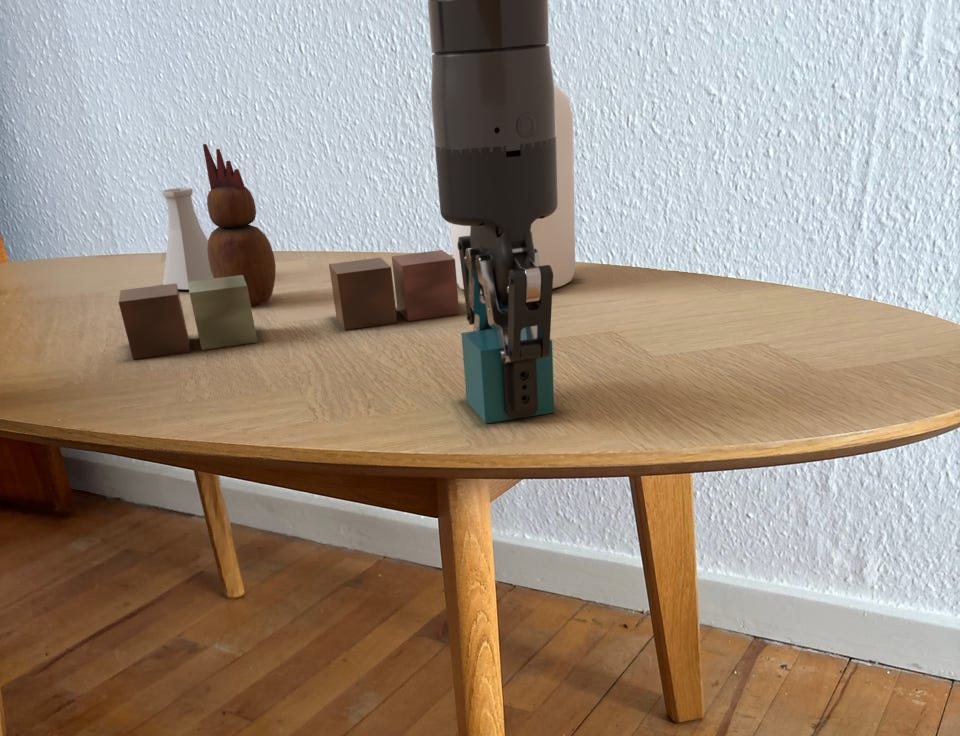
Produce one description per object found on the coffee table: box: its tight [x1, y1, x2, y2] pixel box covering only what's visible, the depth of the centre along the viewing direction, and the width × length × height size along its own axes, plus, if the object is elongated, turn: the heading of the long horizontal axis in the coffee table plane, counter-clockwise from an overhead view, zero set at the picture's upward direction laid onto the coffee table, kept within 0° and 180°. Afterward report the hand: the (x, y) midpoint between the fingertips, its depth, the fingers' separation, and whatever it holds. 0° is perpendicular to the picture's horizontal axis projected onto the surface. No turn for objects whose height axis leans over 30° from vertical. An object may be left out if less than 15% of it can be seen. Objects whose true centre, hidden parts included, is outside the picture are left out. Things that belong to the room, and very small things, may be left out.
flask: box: [160, 187, 214, 290], centre depth 111 cm, size 7×7×10 cm
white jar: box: [450, 84, 576, 294], centre depth 98 cm, size 12×12×20 cm
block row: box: [118, 249, 460, 360], centre depth 92 cm, size 30×5×5 cm, turn 106°
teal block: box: [461, 328, 555, 425], centre depth 69 cm, size 5×5×5 cm
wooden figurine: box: [202, 143, 277, 307], centre depth 100 cm, size 7×6×15 cm
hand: (509, 401), depth 70 cm, fingers closed on teal block, 5 cm apart
